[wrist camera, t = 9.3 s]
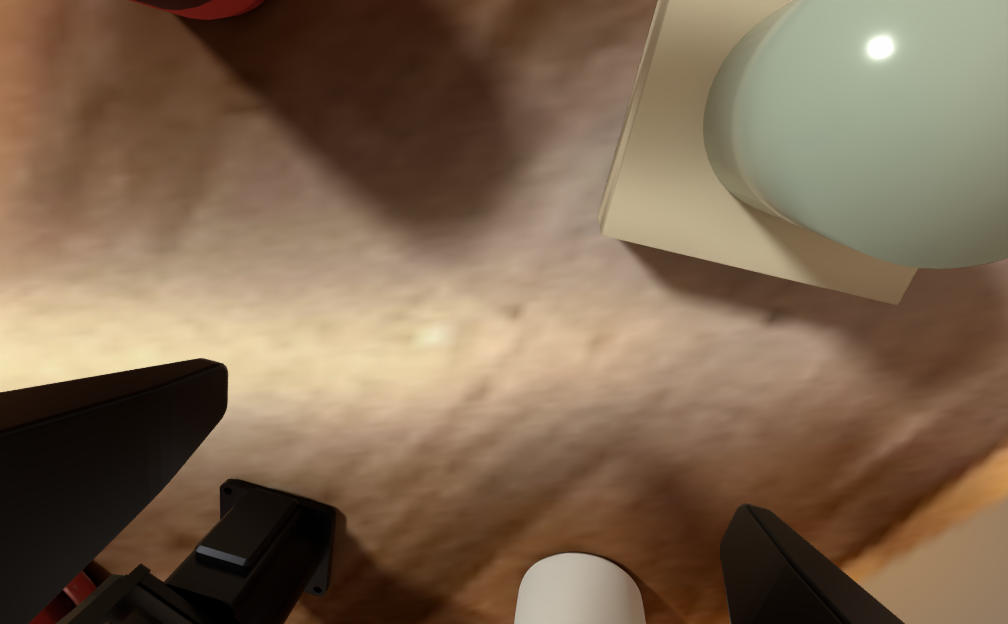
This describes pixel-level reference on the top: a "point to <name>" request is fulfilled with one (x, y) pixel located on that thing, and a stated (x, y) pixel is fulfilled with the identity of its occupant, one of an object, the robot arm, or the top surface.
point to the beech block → (690, 178)
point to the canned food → (203, 7)
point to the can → (578, 592)
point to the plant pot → (66, 600)
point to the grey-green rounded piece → (872, 126)
